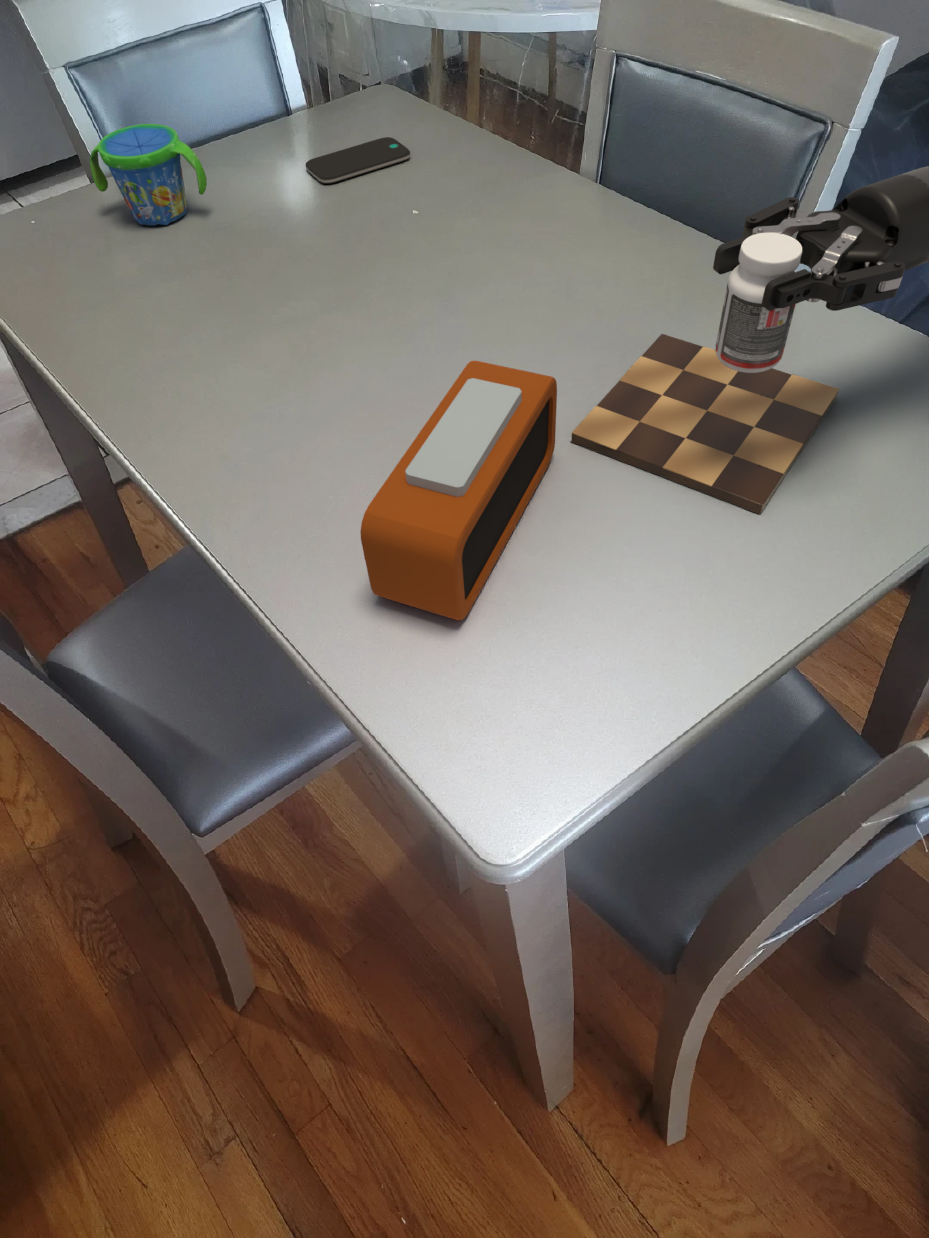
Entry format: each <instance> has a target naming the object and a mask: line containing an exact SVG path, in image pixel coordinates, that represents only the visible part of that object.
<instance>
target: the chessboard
mask: <svg viewBox="0 0 929 1238" xmlns="http://www.w3.org/2000/svg"><path fill="white" fill-rule="evenodd" d="M839 392H840V388H838V387H836V386H835V387H834V386H831V385H828V384H825V383H822V382H819V381H815V380H812V379H809V378H806V377H802V376H800V375H797V374H793V373H788V372H785V371H782V370H779V369H776V368H774V367H773V368H771V369H769V370H766V371H763V372H757V373H746V372H740V371H736V370H733V369H731V368H728V367H727V366H725V365H724V364H723V363H721V361H720V360H719V359H718V357H717V355H716V349H713V348H710V347H707V346H704V345H699V344H696V343H694V342H689V341H687V340H684V339H680V338H677V337H674V336H671V335H668V334H664V333H661V334H660V335H658V337H657V338H656V339H655V340H654V341H653V343H652V344H651V345H649V347H648V348H647V349H646V350H645V352H644V353H642V355H641V356H639V357H638V359H637V360H636V361H635V362H634V363H633V364H632V365H631V366H630V367H629V369H628V370H627V371H626V372H625V373H624V374H623V375H622V376H621V378H620V379H619V380H618V381H617V382H616V384H615V385H614V386H613V387H612V388H611V389H610V390H609V391H608V392H607V393H606V395H604V397H603V398H602V399H601V400H600V401H599V402H598V403H597V404H596V405H595V406H593V408H592V409H591V411H589V413H588V414H587V415H586V416H585V417H584V418H583V419H582V420H581V422H580V423H578V425H577V426H576V427H575V428H574V429H573V430H572V432H571V439H570V440H571V443H572V444H575V445H578V446H581V447H583V448H586V449H589V450H591V451H594V452H596V453H599V454H602V455H604V456H607V457H609V458H612V459H615V460H617V461H620V462H623V463H625V464H628V465H630V466H633V467H635V468H638V469H641V470H644V471H646V472H648V473H651V474H653V475H656V476H659V477H661V478H664V479H667V480H669V481H672V482H674V483H677V484H680V485H682V486H685V487H688V488H690V489H692V490H695V491H698V492H701V493H703V494H706V495H709V496H711V497H713V498H716V499H719V500H722V501H723V502H726V503H729V504H732V505H733V506H736V507H739V508H742V509H744V510H746V511H750V512H752V513H755V514H757V515H761V514H762V512H763V511H764V509H766V506H767V505H768V503H769V502H770V500H771V498H772V497H773V496H774V494H775V493H776V491H777V490H778V488H779V487H780V485H781V483H782V482H783V480H784V479H785V477H786V476H787V474H788V473H789V471H790V469H791V468H792V467H793V465H794V463H795V462H796V460H797V459H798V457H800V454H801V453H802V452H803V450H804V448H805V446H806V445H807V444H808V442H809V440H810V439H811V438H812V436H813V435H814V433H815V431H816V430H817V429H818V427H819V425H820V424H821V423H822V421H823V419H824V418H825V416H826V415H827V413H828V412H829V410H830V409H831V407H832V406H833V404H834V402H836V400H837V397H838V394H839Z"/></svg>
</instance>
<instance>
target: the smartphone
mask: <svg viewBox="0 0 929 1238" xmlns="http://www.w3.org/2000/svg"><path fill="white" fill-rule="evenodd" d="M410 158H411V150H410V149H409V148H408V147H406V146H405V145H404V144H402V143H401V142H399V141H398V140H397V139H395V138H393V137H391V136H386V137H380V138H377V139H373V140H370V141H367V142H363V143H360V144H357V145H353V146H351V147H347V148H344V149H340V150H337V151H333V152H330V153H326V154H324V155H320V156H317V157H314V158H311V159H308V160H307V161H306V162H305V169H306V171H307V172H308V173H309V174H310V175H312V176H313V177H314V178H315V179H316V180H317V181H318V182H320V183H322V184H324V185H330V184H335V183H338V182H341V181H342V182H343V181H345V180H349V179H351V178H354V177H355V178H356V177H358V176H361V175H364V174H367V173H371V172H374V171H377V170H380V169H384V168H387V167H390V166H393V165H396V164H400V163H404V162H405V161H407V160H409V159H410Z"/></svg>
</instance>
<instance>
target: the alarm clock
mask: <svg viewBox="0 0 929 1238" xmlns="http://www.w3.org/2000/svg"><path fill="white" fill-rule="evenodd" d="M557 405H558V383H557V379H556V377H554V376H552V375H551V376H550V375H546V374H541V373H538V372H533V371H529V370H523V369H518V368H517V369H516V368H513V367H508V366H504V365H499V364H493V363H489V362H484V361H481V360H470V361H469V362H468V363H467V364H465V367H464V368H463V370H462V371H461V372H460V374H459V375H458V377H457V378H456V380H455V381H454V382H453V383H452V385H451V387H450V388H449V390H448V391H447V392H446V394H445V395H444V396H443V398H442V400H441V401H440V403H439V404H438V406H437V407H436V408H435V409H434V411H433V412H432V414H431V415H430V417H429V418H428V420H427V421H426V423H425V424H424V425H423V426H422V428H421V430H420V431H419V433H418V434H417V436H416V437H415V438H414V439H413V441H412V442H411V444H410V445H409V447H408V448H407V449H406V451H405V452H404V454H403V455H402V457H401V458H400V460H399V461H398V462H397V464H396V465H395V467H394V468H393V470H392V471H391V473H390V474H389V475H388V477H387V478H386V480H385V481H384V483H383V484H382V485H381V487H380V488H379V490H378V491H377V492H376V494H375V495H374V497H373V498H372V500H371V501H370V503H369V504H368V506H367V508H366V510H365V511H364V514H363V517H362V520H361V525H360V543H361V547H362V551H363V556H364V561H365V565H366V571H367V576H368V581H369V586H370V589H371V591H372V593H373V594H374V595H375V596H377V597H380V598H383V599H387V600H389V601H393V602H396V603H400V604H403V605H406V606H410V607H413V608H416V609H419V610H423V611H426V612H429V613H432V614H436V615H439V616H442V617H445V618H449V619H452V620H455V621H463V620H465V618H466V617H467V615H468V614H469V613H470V611H471V610H472V607H473V605H474V604H475V602H476V601H477V598H478V596H479V594H481V591H482V589H483V587H484V585H485V583H486V581H487V580H488V578H489V576H490V574H491V572H492V570H493V568H494V567H495V565H496V563H497V561H498V560H499V557H500V556H501V554H502V552H503V550H504V548H505V547H506V545H507V543H508V541H509V539H510V537H511V536H512V533H513V532H514V530H515V529H516V526H517V524H518V523H519V520H520V519H521V517H522V515H523V513H524V511H526V508H527V506H528V504H529V502H530V501H531V499H532V497H533V495H534V493H535V492H536V489H537V488H538V486H539V484H540V482H541V481H542V478H543V476H544V474H545V473H546V471H547V469H548V467H549V465H550V463H551V461H552V458H553V455H554V451H555V447H556V428H557V427H556V426H557Z"/></svg>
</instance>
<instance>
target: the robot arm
mask: <svg viewBox="0 0 929 1238" xmlns="http://www.w3.org/2000/svg"><path fill="white" fill-rule="evenodd" d="M799 205H800V199H799V198H797V197H795V196H794V197H793V196H789V197H786V198H783V199H782V200H779V201H777V202H775V203H773V204H772V205H769V206H767V207H765V208H763V209H760V210H758V211H757V212H754V213H752V214H750V215H748V216H746V217H745V221H744V226H743V231H742V236H741V237H738V238H736V239H732V240H730V241H727V242H723V243H721V244H720V245H718V247H717V249H716V250H715V255H714V260H713V265H712V270H713V271H715V272H716V273H717V274H718V275H724V274H727V273H731V272H732V271H733V270H734V269H735V268H736V267H737V266H738V265H739V264H740V263H739V253H740V249H741V245H742V243H743V241H744V240H745V239H747V238H748V237H750V236H752V235H755V234H759V233H768V232H769V233H780V234H785V235H788V236H790V237H792V238H793V236H794V235H795V234H796V233H797V234H796V237H795V239H796V240H797V241H798V242H799V243H800V244H801V246H802V255H801V259H800V264H799V265H804V266H807V267H808V268H809V269H810V270H811V271H809V270H807V269H806V268H803V269H800V270H798V271H797V270H796V272H795V273H792V274H789V275H786V276H783V277H780V278H778V279H775V280H772V281H770V282H769V283H768V284H767V285H766V287H765V290H764V295H763V299H762V306H763V307H764V308H765V309H767V310H768V311H771V310H774V309H779V308H786V307H788V306H790V305H794V304H799V303H802V302H805V301H807V303H808V302H809V303H817V302H819V301H823V302H826V303H825V308H826V309H827V310H829V311H833V312H836V311H841V310H842V311H843V310H845V309H851V308H854V307H859V306H863V305H867V304H872V303H877V302H881V301H884V300H885V301H886V300H889V299H893V298H895V297H896V296H897V293H898V291H899V288H900V287H901V286H900V285H901V282H902V279H903V278H904V273H905V271H909V270H911V269H914V268H916V267H919V266H921V265H924V264H927V263H929V166H927V165H926V166H923V167H920V168H915V169H913V170H911V171H910V170H909V171H907V172H903V173H901V174H897V175H894V176H891V177H888V178H885V179H882V180H880V181H877V182H876V181H875V182H873V183H870V184H868V185H865V186H861V187H859V188H856V189H854V190H852V191H851V192H850V193H848V194H847V195H846V196H845V197H844V198H843V199H842V200H841V201H840V202H839V203H838V204H837V205H836V206H835V207H834V208H832V209H830V210H818V211H817V210H816V211H813V212H811V213H806V212H804V211H802V210H800V209H799ZM853 286H854V287H853ZM848 287H849V288H850V287H853V290H851V292H848V293H847V291H848Z"/></svg>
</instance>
